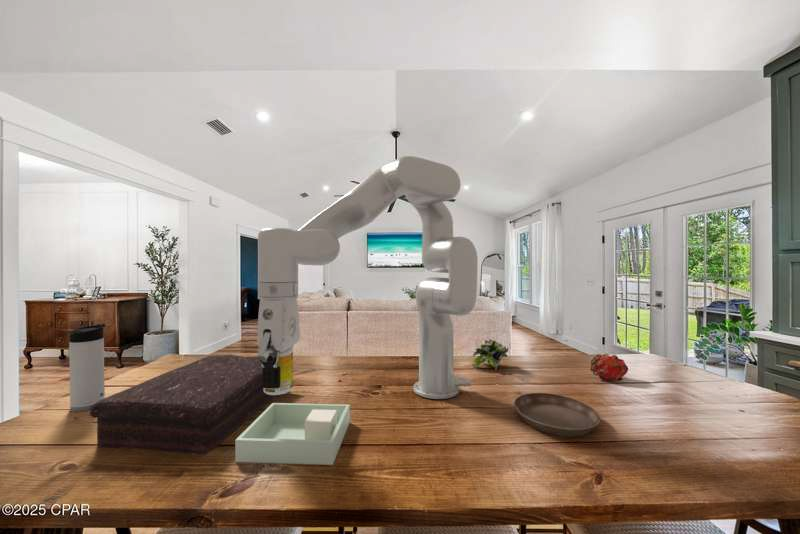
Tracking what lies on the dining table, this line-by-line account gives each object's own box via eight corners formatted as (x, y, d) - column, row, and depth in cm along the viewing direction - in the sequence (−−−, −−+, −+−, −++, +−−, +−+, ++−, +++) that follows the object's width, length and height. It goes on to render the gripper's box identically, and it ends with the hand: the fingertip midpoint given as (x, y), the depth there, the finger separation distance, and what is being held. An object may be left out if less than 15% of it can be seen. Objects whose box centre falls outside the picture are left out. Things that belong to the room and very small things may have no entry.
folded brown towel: (209, 460, 61) (209, 406, 61) (87, 451, 64) (86, 399, 64) (291, 389, 95) (291, 354, 95) (208, 385, 98) (208, 351, 98)
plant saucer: (615, 446, 66) (615, 431, 66) (521, 437, 69) (521, 423, 69) (582, 407, 83) (583, 395, 83) (509, 402, 86) (509, 390, 86)
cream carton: (336, 434, 68) (336, 409, 68) (330, 447, 63) (330, 421, 63) (312, 433, 69) (312, 409, 69) (304, 447, 64) (304, 421, 64)
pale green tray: (349, 424, 74) (349, 404, 74) (332, 467, 58) (332, 442, 58) (272, 422, 74) (272, 402, 74) (235, 465, 59) (235, 440, 59)
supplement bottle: (297, 391, 66) (297, 340, 66) (268, 398, 62) (268, 344, 62) (286, 383, 70) (286, 335, 70) (259, 389, 67) (259, 339, 66)
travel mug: (111, 403, 85) (110, 324, 84) (77, 414, 79) (76, 329, 78) (98, 399, 87) (97, 322, 87) (65, 409, 81) (63, 327, 81)
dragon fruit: (586, 383, 103) (623, 388, 104) (603, 375, 96) (642, 380, 97) (580, 356, 108) (615, 361, 109) (595, 347, 101) (633, 352, 102)
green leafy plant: (489, 379, 117) (506, 350, 119) (502, 385, 106) (520, 352, 109) (463, 361, 117) (480, 332, 120) (472, 365, 107) (491, 333, 109)
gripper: (279, 295, 57) (279, 400, 57) (310, 287, 74) (310, 368, 75) (236, 295, 58) (236, 399, 58) (277, 287, 75) (277, 367, 75)
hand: (278, 380), depth 66 cm, fingers closed on supplement bottle, 5 cm apart
